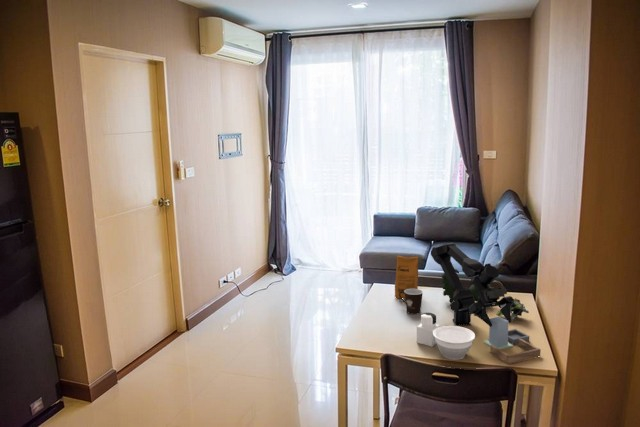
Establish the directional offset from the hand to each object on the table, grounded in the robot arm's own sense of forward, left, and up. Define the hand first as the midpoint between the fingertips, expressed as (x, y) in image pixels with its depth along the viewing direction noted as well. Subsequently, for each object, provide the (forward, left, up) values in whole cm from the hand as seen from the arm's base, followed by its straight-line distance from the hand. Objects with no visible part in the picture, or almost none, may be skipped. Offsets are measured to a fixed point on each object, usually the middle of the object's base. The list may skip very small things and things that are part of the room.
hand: (501, 324), depth 196 cm
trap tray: (+8, +6, -9) cm, 13 cm away
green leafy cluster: (+15, +27, -9) cm, 32 cm away
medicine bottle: (-27, +6, -9) cm, 30 cm away
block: (0, +1, -8) cm, 9 cm away
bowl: (-20, -6, -9) cm, 23 cm away
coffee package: (-26, +60, -9) cm, 67 cm away
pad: (0, +1, -9) cm, 9 cm away
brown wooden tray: (+3, -8, -9) cm, 12 cm away
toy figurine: (+2, +47, -9) cm, 48 cm away
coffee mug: (-27, +41, -9) cm, 50 cm away
